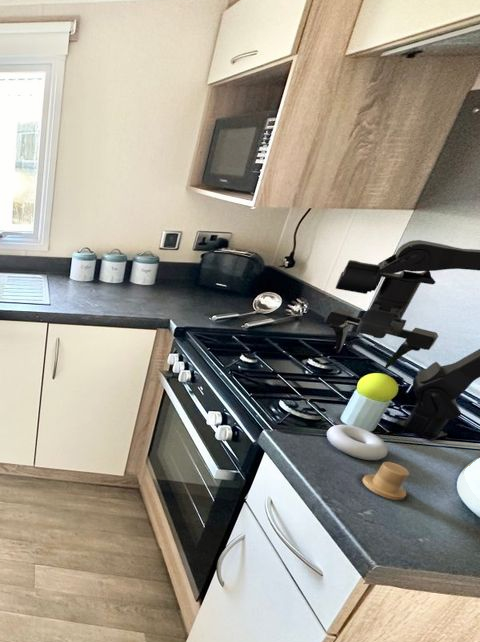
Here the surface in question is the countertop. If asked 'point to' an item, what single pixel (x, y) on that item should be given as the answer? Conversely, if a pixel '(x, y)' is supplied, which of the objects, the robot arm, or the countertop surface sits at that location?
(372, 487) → the wooden egg stand
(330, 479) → the countertop surface
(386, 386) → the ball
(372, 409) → the cup
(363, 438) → the donut
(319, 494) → the countertop surface
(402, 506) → the countertop surface
